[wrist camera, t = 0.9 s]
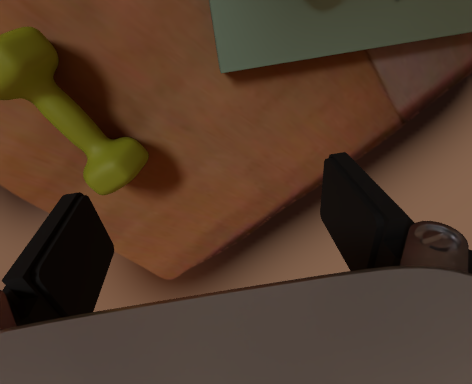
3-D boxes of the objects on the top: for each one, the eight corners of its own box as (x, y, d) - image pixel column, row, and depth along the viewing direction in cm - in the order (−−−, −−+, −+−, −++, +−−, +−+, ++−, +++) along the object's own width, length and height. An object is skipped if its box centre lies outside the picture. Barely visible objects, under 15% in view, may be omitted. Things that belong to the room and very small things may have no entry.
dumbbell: (159, 148, 35) (149, 176, 29) (111, 178, 36) (92, 211, 30) (47, 15, 26) (1, 16, 20) (-9, 63, 28) (-67, 76, 22)
